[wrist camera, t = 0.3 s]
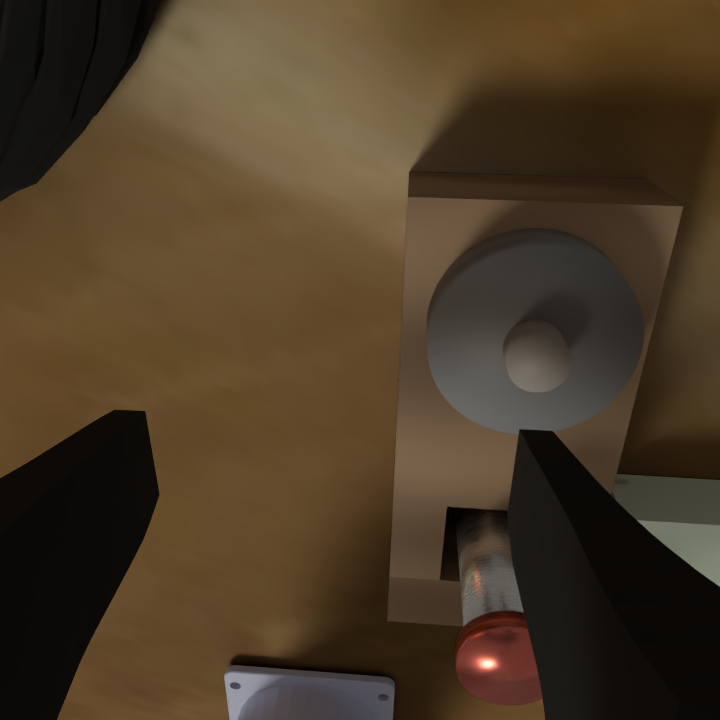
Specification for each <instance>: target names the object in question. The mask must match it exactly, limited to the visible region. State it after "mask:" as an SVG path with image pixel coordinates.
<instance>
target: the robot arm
mask: <svg viewBox="0 0 720 720" xmlns="http://www.w3.org/2000/svg"><path fill="white" fill-rule="evenodd" d="M158 497H159V489H158V483H157V478H156V472H155V466H154V460H153V454H152V448H151V442H150V437H149V431H148V425H147V419H146V413H145V411H129V410H114V411H112V412H110V413H108V414H106V415H104V416H102V417H101V418H99V419H97V420H96V421H94V422H92V423H91V424H89V425H87V426H86V427H84V428H83V429H81V430H79V431H78V432H76V433H75V434H73V435H71V436H70V437H68V438H67V439H65V440H63V441H62V442H60V443H59V444H57V445H55V446H54V447H52V448H51V449H49V450H47V451H46V452H44V453H43V454H41V455H39V456H38V457H36V458H35V459H33V460H31V461H30V462H28V463H26V464H25V465H23V466H21V467H19V468H18V469H16V470H14V471H12V472H11V473H9V474H7V475H5V476H4V477H2V478H0V720H57V718H58V715H59V713H60V710H61V708H62V705H63V703H64V700H65V698H66V695H67V693H68V690H69V688H70V686H71V683H72V681H73V678H74V676H75V673H76V671H77V668H78V666H79V663H80V661H81V659H82V657H83V655H84V653H85V651H86V648H87V646H88V644H89V642H90V640H91V638H92V636H93V634H94V632H95V630H96V629H97V627H98V625H99V623H100V621H101V619H102V617H103V615H104V614H105V612H106V610H107V608H108V606H109V604H110V602H111V600H112V599H113V597H114V595H115V593H116V591H117V589H118V587H119V585H120V584H121V582H122V580H123V578H124V576H125V574H126V572H127V570H128V568H129V566H130V565H131V563H132V561H133V559H134V557H135V555H136V553H137V551H138V549H139V547H140V545H141V543H142V541H143V539H144V536H145V534H146V531H147V529H148V526H149V523H150V521H151V518H152V515H153V512H154V509H155V506H156V503H157V500H158ZM507 517H508V528H509V538H510V547H511V556H512V563H513V568H514V572H515V577H516V581H517V586H518V590H519V594H520V598H521V603H522V607H523V611H524V615H525V620H526V624H527V628H528V632H529V636H530V641H531V645H532V649H533V653H534V658H535V662H536V666H537V670H538V676H539V681H540V686H541V691H542V697H543V704H544V712H545V720H720V586H718V585H717V584H715V583H714V582H712V581H711V580H710V579H708V578H707V577H705V576H704V575H703V574H701V573H700V572H699V571H697V570H696V569H695V568H693V567H692V566H691V565H690V564H688V563H687V562H686V561H684V560H683V559H682V558H681V557H679V556H678V555H677V554H676V553H674V552H673V551H672V550H670V549H669V548H668V547H667V546H666V545H664V544H663V543H662V542H661V541H660V540H658V539H657V538H656V537H655V536H654V535H653V534H651V533H650V532H649V531H648V530H647V529H646V528H645V527H644V526H643V525H642V524H640V523H639V522H638V521H637V520H636V519H635V518H634V517H633V516H632V515H631V514H630V513H628V512H627V511H626V510H625V509H624V508H623V507H622V506H621V505H620V504H619V503H618V502H617V501H616V500H615V499H614V498H613V497H612V496H611V495H610V494H609V493H608V492H607V491H606V490H605V488H604V487H603V486H602V485H601V484H600V483H599V482H598V481H597V480H596V479H595V478H594V477H593V476H592V475H591V474H590V472H589V471H588V470H587V469H586V468H585V467H584V466H583V465H582V463H581V462H580V461H579V460H578V459H577V458H576V457H575V456H574V454H573V453H572V452H571V451H570V450H569V449H568V448H567V446H566V445H565V444H564V443H563V442H562V441H561V440H560V439H559V437H558V436H557V435H556V434H555V433H554V432H553V431H547V430H527V429H519V435H518V442H517V449H516V456H515V463H514V470H513V477H512V484H511V491H510V498H509V505H508V512H507ZM224 679H225V687H226V695H227V703H228V710H229V718H230V720H393V709H394V693H395V684H394V681H393V680H392V679H390V678H388V677H382V676H369V675H356V674H343V673H330V672H318V671H305V670H292V669H279V668H266V667H254V666H241V665H232V666H229V667H228V668H227V669H226V672H225V676H224Z"/></svg>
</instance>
